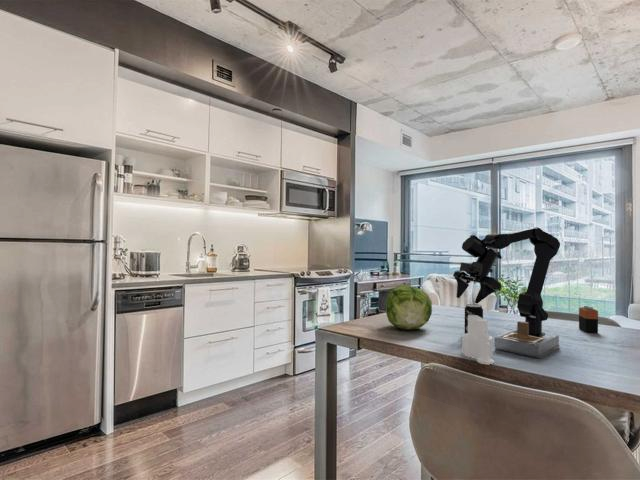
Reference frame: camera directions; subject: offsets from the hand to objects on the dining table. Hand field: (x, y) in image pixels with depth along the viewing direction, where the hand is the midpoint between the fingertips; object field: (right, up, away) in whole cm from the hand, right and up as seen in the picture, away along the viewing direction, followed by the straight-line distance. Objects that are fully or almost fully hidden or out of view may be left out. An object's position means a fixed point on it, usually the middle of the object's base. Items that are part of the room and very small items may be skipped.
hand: (466, 300), depth 140 cm
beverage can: (+5, -15, +5) cm, 17 cm away
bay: (+17, -15, -11) cm, 25 cm away
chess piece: (-4, -15, -25) cm, 30 cm away
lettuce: (-17, -15, +16) cm, 28 cm away
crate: (+14, -13, -14) cm, 24 cm away
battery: (+55, -15, +13) cm, 59 cm away
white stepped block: (-4, -15, -18) cm, 24 cm away
